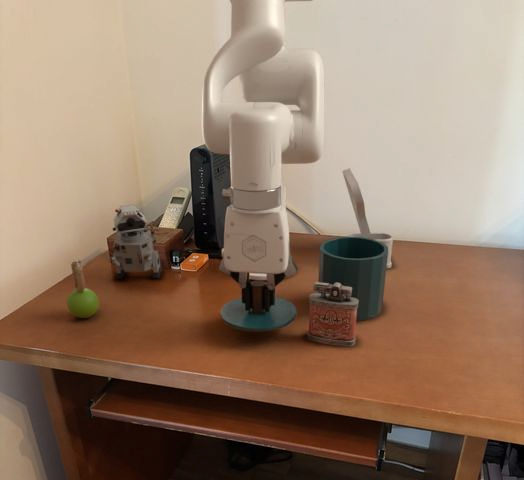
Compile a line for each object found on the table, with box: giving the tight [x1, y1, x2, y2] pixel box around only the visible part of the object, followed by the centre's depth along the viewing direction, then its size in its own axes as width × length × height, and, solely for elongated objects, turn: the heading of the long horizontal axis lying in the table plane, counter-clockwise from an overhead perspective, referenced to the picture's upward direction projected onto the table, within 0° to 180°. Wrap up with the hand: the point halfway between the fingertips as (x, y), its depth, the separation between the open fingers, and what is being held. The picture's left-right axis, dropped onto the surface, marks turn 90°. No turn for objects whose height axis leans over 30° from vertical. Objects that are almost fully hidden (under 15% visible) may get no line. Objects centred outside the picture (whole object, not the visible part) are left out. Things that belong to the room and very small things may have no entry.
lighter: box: [307, 281, 359, 347], centre depth 89 cm, size 8×3×10 cm, turn 71°
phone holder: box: [342, 168, 394, 269], centre depth 120 cm, size 17×10×18 cm, turn 179°
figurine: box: [111, 204, 163, 280], centre depth 111 cm, size 9×12×15 cm
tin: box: [317, 236, 388, 322], centre depth 99 cm, size 12×12×12 cm
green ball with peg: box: [66, 259, 100, 319], centre depth 97 cm, size 5×6×12 cm
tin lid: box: [220, 280, 298, 332], centre depth 91 cm, size 13×13×6 cm
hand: (258, 306), depth 92 cm, fingers closed on tin lid, 2 cm apart
